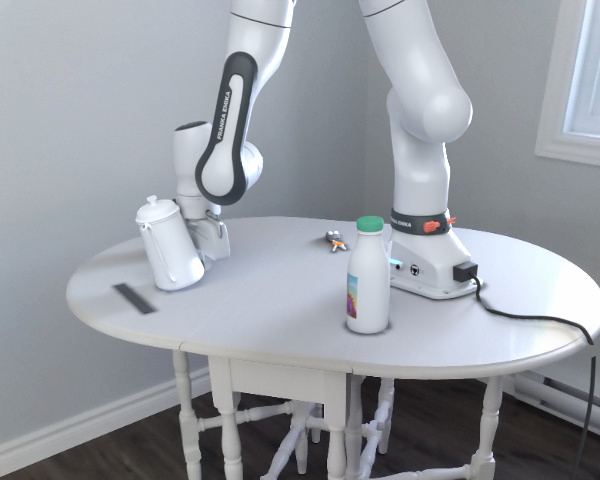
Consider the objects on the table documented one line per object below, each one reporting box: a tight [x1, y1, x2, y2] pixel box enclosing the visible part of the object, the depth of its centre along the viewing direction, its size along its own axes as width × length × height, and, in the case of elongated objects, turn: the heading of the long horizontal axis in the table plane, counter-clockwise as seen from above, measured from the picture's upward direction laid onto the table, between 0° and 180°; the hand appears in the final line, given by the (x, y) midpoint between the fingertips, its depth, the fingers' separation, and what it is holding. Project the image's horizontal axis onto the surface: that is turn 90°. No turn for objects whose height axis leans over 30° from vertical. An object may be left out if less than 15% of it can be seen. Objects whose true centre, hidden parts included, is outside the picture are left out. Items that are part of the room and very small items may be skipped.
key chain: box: [325, 230, 347, 252], centre depth 160 cm, size 13×4×2 cm, turn 7°
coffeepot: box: [134, 194, 205, 291], centre depth 133 cm, size 11×25×19 cm, turn 0°
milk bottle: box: [346, 215, 391, 335], centre depth 114 cm, size 8×8×20 cm
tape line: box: [114, 283, 155, 314], centre depth 134 cm, size 18×2×1 cm, turn 33°
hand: (206, 268), depth 141 cm, fingers closed, pressing on coffeepot
